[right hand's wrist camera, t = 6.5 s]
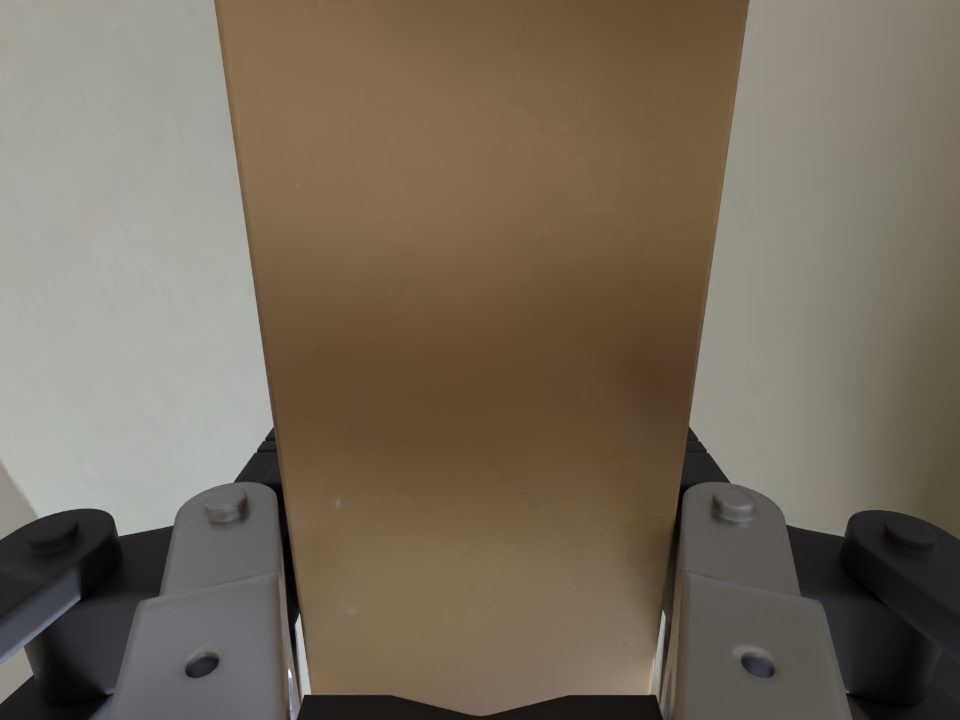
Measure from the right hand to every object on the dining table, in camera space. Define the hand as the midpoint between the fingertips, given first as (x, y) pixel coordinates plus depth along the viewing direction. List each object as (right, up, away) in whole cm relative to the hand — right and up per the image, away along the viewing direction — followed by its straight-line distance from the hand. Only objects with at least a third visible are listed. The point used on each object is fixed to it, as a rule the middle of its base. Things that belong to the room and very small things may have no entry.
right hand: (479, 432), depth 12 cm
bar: (0, +26, -6) cm, 26 cm away
